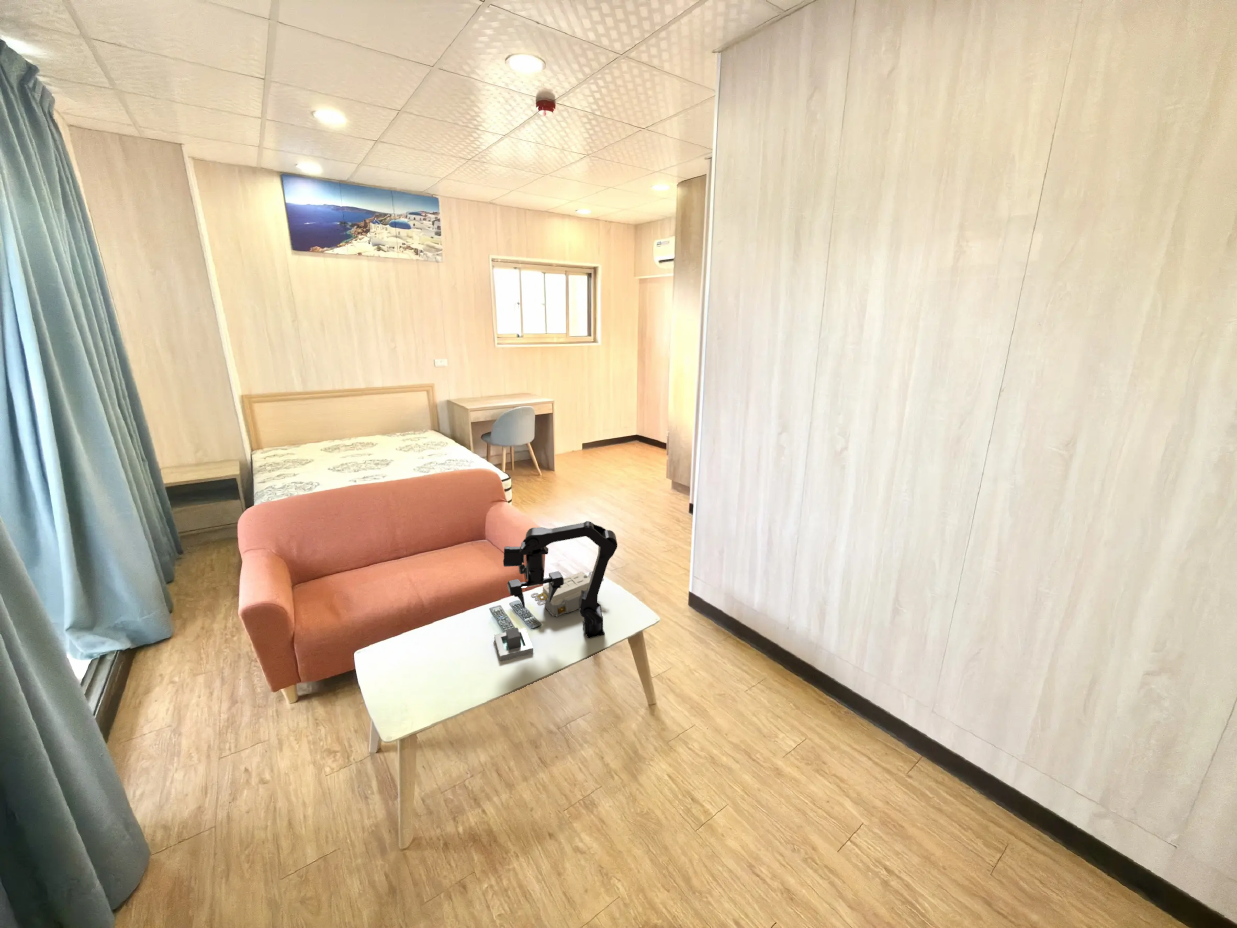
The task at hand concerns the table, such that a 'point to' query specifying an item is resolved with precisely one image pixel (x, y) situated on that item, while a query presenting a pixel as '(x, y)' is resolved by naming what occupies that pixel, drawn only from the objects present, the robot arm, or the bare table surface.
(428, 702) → the table surface
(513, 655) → the socket
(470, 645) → the table surface
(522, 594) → the robot arm
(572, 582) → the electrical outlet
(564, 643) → the table surface
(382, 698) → the table surface
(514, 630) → the block
